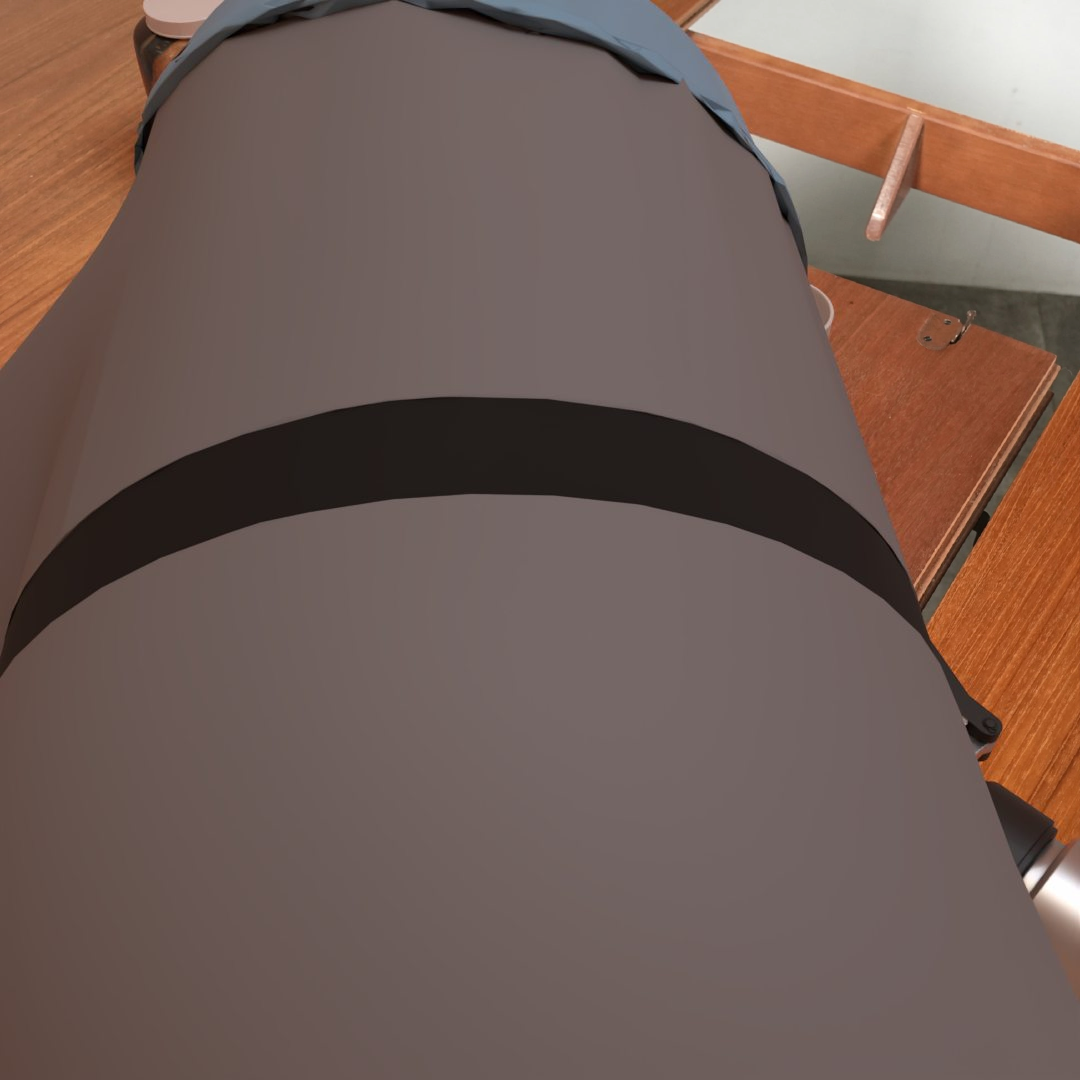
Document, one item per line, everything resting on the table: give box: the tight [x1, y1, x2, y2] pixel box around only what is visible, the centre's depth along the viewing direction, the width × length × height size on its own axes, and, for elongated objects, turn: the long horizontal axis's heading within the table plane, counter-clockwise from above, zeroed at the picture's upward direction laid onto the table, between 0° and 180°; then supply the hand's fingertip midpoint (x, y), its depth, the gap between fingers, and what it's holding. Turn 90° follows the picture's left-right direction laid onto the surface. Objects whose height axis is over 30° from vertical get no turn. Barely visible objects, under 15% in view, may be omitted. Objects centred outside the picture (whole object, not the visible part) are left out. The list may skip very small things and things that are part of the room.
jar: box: [132, 0, 224, 99], centre depth 108 cm, size 12×12×15 cm
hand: (651, 632), depth 63 cm, fingers open, 13 cm apart
